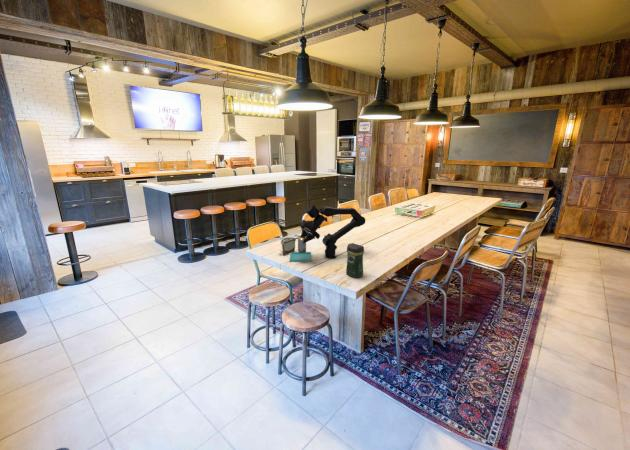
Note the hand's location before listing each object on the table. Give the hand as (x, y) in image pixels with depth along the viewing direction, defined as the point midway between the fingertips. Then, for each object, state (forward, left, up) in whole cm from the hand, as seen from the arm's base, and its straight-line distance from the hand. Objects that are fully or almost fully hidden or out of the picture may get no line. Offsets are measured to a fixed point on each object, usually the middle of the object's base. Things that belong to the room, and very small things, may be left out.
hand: (301, 241), depth 186 cm
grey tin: (0, 0, -7) cm, 7 cm away
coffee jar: (-31, +21, -14) cm, 40 cm away
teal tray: (+1, -6, -13) cm, 15 cm away
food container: (+11, -16, -14) cm, 24 cm away
